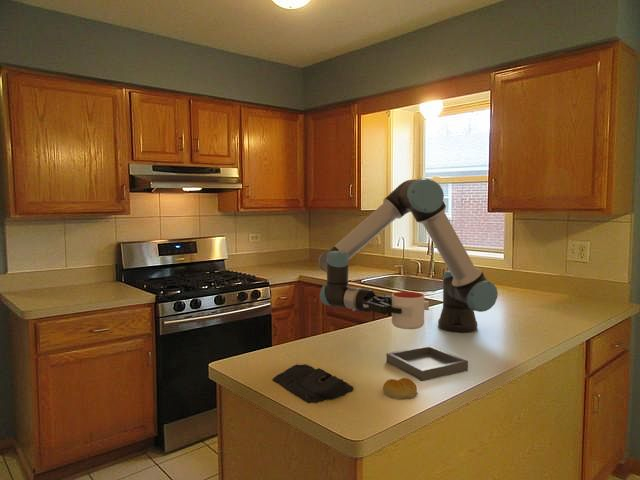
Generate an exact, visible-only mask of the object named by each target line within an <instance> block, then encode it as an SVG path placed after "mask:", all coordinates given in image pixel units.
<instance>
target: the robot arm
mask: <svg viewBox="0 0 640 480" xmlns="http://www.w3.org/2000/svg"><path fill="white" fill-rule="evenodd" d="M444 196H445V195H444V191H443V187H442V186H441V185H440V184H439V183H438V182H437V181H436V180H434V179H430V178H426V177H420V178H416V179H408V180H407V179H406V180H405V181H403V182H401V183H400V184H399V185H398V186H397V187H396V188H395V189H393V191H391V192H390V193H389V194H388V195H387V196H386V197H385V198H384V199H382V200H383V202H382V204H381V205H379V207H377V208H376V209H375V210H374V211H373V212H371V213H370V214H369V216H367V217H366V218H365V219H364V220H363V221H361V222H360V223H359V224H358V225H357V226H356V227H354V228H353V229H352V230H351V231H349V232H348V233H347V235H345V236H344V237H343V238H341V240H339V241H338V242H337V243H336V244H335V245H333V246H332V248H330V249H329V250H328V251H324V252H322V253H321V254H320V255H319V257H318V265H319V267H320V269H321V270H322V271H323V272H325V273H326V283H325V284H324V285H322V287H321V288H320V292H319V299H320V301H321V303H322V304H324V305H326V306H331V307H332V308H333V307H334V308H335V307H337V308H340V309H341V308H342V309H348V310H351V311H352V312H355V311H359V312H365V313H370V312H373V313H377V314H380V315H387V317H392V314H396V315H402V316H408V317H413V308H411V307H405V306H398V305H393V307H392V295H389V294H388V295H387V294H384V295H379V294H378V295H377V296H376V293H375V292H374V291H373V290H372V289H367V288H361V287H354V286H349V260H350V259H352V258H353V257H354V256H355V255H356V254H357V253H358V252H359V251H361V250H362V249H363V248H365V246H367V245H368V244H369V243H370V242H371V241H372V240H373V239H374V238H376V237H377V236H378V235H379V234H380V233H382V231H384V230H385V229H386V228H387V227H389V225H391V224H392V222H394V221H395V220H396V219H402V217H404V216H405V215H407V214H409V213H411V215H413V216H412V217H414V219H415V221H416V223H418V224H419V223H420V224H422V225H423V226H424V228H425V231H426V232H427V235H429V237H430V239H431V240H432V242H433V243H432V244H434V246H435V248H436V249H437V251H438V253H439V255H440V256H441V259H442V260H443V262H444V264H445V265H446V268H447V269H448V270H446V271H444V273H443V278H442V281H443V282H442V287H443V288H442V308H441V309H442V310H441V313H440V316H439V318H438V321H437V326H438V328H440V329H441V330H444V331H447V332H454V333H470V332H475V331H477V330H478V321H477V320H476V319H477V318H476V314H475V312H479V313H481V312H482V313H484V312H486V311H489V310H491V308H493V307H494V305H495V304H496V303H497V299H498V296H499V295H498V294H499V293H498V289H497V287H496V285H495V284H494V282H492V281H490V280H488V279H487V278H486V276H485V274H484V272H483V271H482V269H481V268H480V267H476V266H475V265H474V263H473V261H472V259H471V258H470V256H469V254H468V252H467V251H466V248H465V246H464V245H463V243H462V241H461V240H460V238H459V236H458V235H457V233H456V230H455V229H454V227H453V225H452V223H451V221H450V219H449V217H448V216H447V214H446V213H445V211H446V208H447V205H446V204H445V202H444ZM429 310H430V302H429V301H426V300H424V311H429Z"/></svg>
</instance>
